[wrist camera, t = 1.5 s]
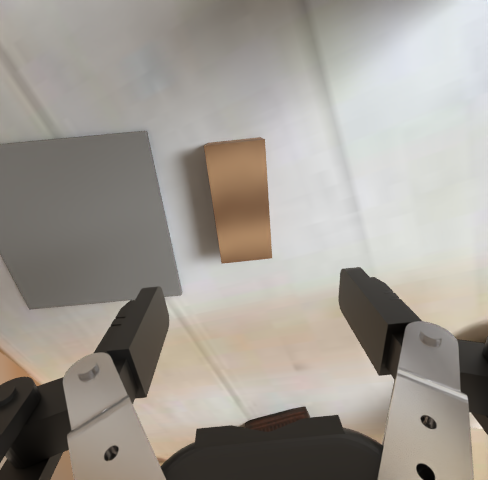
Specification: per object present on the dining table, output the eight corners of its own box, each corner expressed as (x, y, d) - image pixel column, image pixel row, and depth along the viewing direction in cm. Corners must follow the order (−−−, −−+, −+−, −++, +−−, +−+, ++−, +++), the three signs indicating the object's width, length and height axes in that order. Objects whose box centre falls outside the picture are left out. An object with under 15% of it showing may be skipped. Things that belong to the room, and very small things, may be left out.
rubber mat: (-49, 148, 24) (-55, 149, 23) (146, 130, 24) (144, 130, 23) (33, 306, 31) (29, 309, 31) (182, 292, 31) (181, 295, 31)
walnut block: (208, 142, 25) (203, 146, 21) (260, 137, 25) (264, 139, 21) (223, 246, 29) (221, 263, 26) (267, 241, 29) (272, 258, 26)
